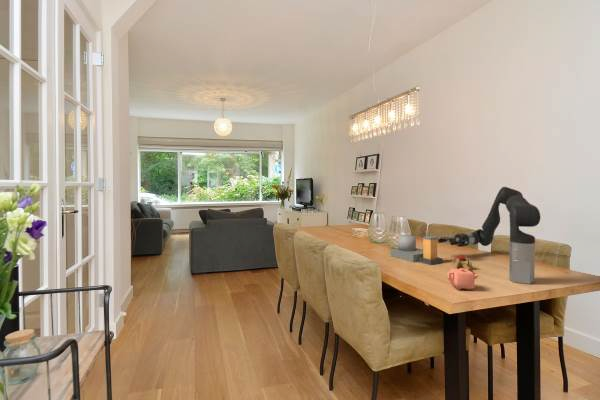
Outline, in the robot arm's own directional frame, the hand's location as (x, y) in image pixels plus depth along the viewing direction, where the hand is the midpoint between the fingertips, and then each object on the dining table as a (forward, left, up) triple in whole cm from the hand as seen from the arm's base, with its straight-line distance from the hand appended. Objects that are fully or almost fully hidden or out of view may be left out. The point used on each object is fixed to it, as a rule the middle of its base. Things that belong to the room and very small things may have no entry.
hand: (444, 242), depth 188 cm
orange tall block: (-10, +6, -10) cm, 15 cm away
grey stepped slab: (-5, +13, -10) cm, 18 cm away
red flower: (-17, -12, -11) cm, 24 cm away
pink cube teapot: (-50, -16, -11) cm, 53 cm away
